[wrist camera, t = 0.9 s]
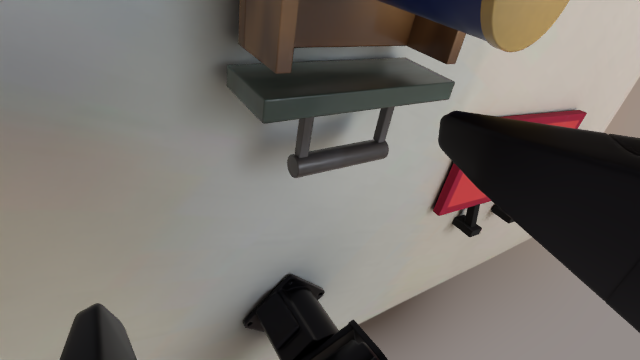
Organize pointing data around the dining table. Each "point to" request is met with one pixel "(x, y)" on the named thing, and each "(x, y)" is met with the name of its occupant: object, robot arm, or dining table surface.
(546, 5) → the tin
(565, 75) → the dining table surface
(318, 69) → the drawer
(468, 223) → the red board with handle
